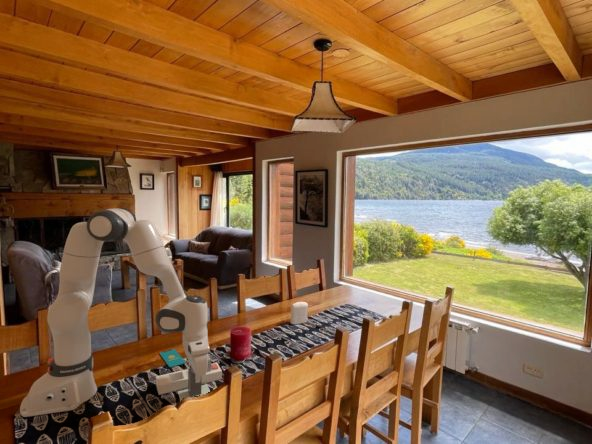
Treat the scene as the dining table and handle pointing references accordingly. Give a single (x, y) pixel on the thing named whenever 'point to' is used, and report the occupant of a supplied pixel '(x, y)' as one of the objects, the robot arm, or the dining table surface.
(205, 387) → the mat
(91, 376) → the robot arm
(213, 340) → the dining table surface
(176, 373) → the power strip
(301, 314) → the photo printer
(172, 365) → the teal passport
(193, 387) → the block
